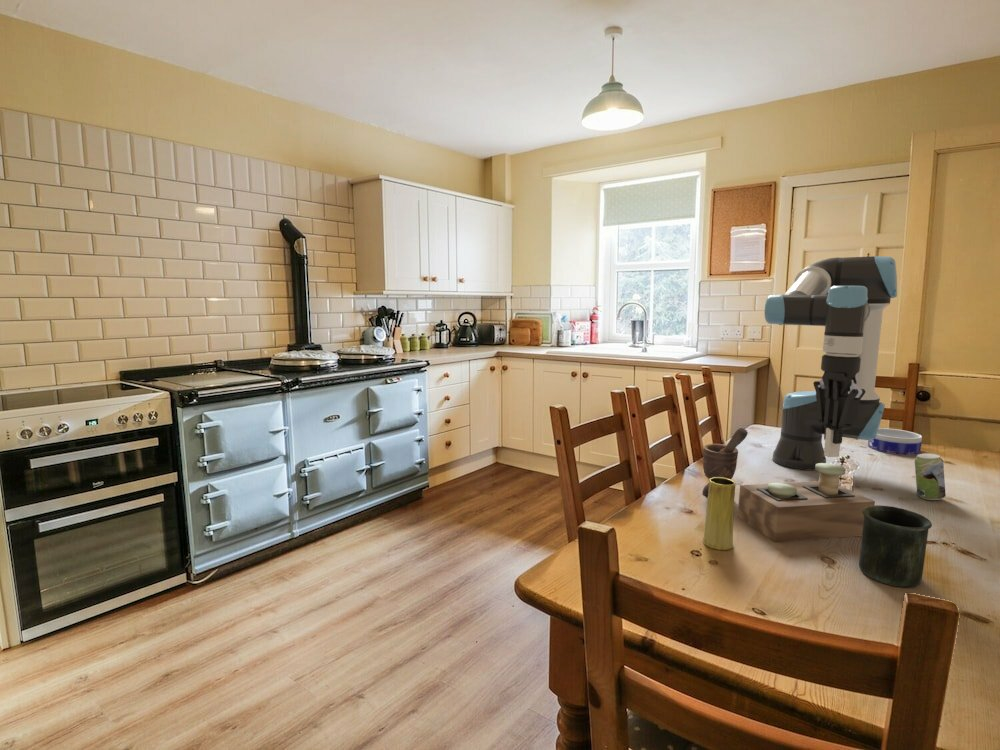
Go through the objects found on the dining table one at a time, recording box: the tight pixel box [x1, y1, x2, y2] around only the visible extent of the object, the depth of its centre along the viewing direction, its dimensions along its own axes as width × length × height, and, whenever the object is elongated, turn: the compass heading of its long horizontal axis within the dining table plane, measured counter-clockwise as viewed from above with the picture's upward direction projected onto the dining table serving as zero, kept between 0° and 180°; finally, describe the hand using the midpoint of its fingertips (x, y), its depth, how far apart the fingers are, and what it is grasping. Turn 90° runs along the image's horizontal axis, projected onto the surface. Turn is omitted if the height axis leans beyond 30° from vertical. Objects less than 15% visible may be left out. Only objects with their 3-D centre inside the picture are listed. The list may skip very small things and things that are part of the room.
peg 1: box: [767, 482, 797, 498], centre depth 127 cm, size 6×6×8 cm
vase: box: [702, 477, 736, 551], centre depth 118 cm, size 6×6×14 cm
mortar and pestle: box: [702, 427, 749, 497], centre depth 146 cm, size 12×9×20 cm
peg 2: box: [815, 462, 846, 495], centre depth 129 cm, size 6×6×8 cm
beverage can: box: [914, 452, 947, 501], centre depth 146 cm, size 6×7×12 cm
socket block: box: [737, 480, 876, 543], centre depth 128 cm, size 14×24×8 cm, turn 99°
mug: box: [858, 504, 933, 588], centre depth 107 cm, size 11×15×12 cm
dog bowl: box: [867, 427, 923, 456], centre depth 194 cm, size 15×15×6 cm
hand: (831, 455), depth 127 cm, fingers closed
